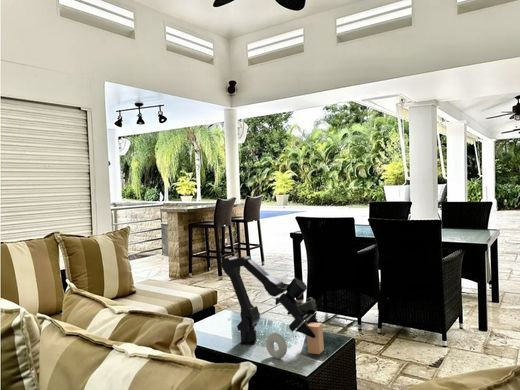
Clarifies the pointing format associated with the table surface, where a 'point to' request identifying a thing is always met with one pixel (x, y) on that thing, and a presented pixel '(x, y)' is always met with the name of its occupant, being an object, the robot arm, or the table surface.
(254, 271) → the robot arm
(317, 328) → the post
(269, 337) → the donut
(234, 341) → the table surface
